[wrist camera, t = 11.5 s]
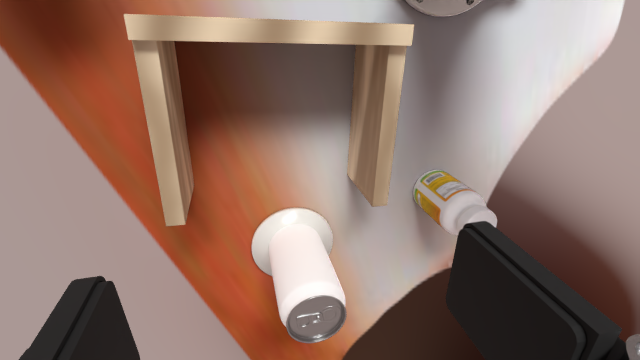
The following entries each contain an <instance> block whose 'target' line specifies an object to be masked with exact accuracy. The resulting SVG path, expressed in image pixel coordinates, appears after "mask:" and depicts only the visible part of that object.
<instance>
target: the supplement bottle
mask: <svg viewBox="0 0 640 360" xmlns="http://www.w3.org/2000/svg"><path fill="white" fill-rule="evenodd" d="M413 196H414V200H415V202H416V203H417V204H418V205H419V206H420V207H421V208H422V209H423V210H424V211H425V212H426V213H427V214H428V215H429V216H431V217H432V218H433V219H434V220H435V221H436V222H437V223H438V224H439V225H440V226H441V227H442V228H443V229H444V230H446V231H447V232H448V233H450V234H453V235H458V234H459V231H460V230H461V229H463V226H464V225H465V224H467V223H472V222H479V221H487V222H489V223H490V224H492V225H493V226H494V227H495V228H496V225H497V218H496V215H495V214H494V213H493V212H491V211H490V210H489V209H488V208H487V207H486V203H485V201H484V199H483V198H482V197H481V196H480V195H479V194H478V193H476V192H475V191H473V190H472V189H470V188H469V187H467V186H466V185H464V184H463V183H461V182H460V181H458V180H457V179H455V178H454V177H452V176H451V175H449V174H448V173H446V172H444V171H442V170H431V171H428V172H426V173H425V174H423V175H422V176H421V177H420V178H419V179H418V180H417V182H416V184H415V186H414V190H413Z"/></svg>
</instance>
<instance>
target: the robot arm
mask: <svg viewBox="0 0 640 360" xmlns="http://www.w3.org/2000/svg"><path fill="white" fill-rule="evenodd" d="M481 1H482V0H417V1H416V0H406V2H407V3H408V4H409V5H411V6H412V7H413V8H415V9H416V10H417V11H419V12H422V13H424V14H426V15H430V16H436V17H444V16H453V15H458V14H461V13H463V12H465V11H468V10H470V9H471V8H473V7H474V6H476V5H477V4H479V3H480V2H481ZM446 303H447V306H448V309H449V310H450V312H451V313H452V314H453V316H454V317H455V318H456V320H457V321H458V322H459V324H460V325H461V327H462V328H463V329H464V331H465V332H466V333H467V335H468V336H469V338H470V339H471V340H472V342H473V343H474V344H475V346H476V347H477V348H478V350H479V351H480V353H481V354H482V355H483V357H484V358H485V359H486V360H640V334H636V335H633V336H631V337H629V338H628V340H627V341H626V343H625V342H624V341H622V340H621V339H620V338H619V337H618V336H619V334H620V332H621V330H622V329H621V328H620V327H619V326H618V325H616V324H615V323H614V322H613V321H611V320H610V319H609V318H608V317H606V316H605V315H604V314H603V313H601V312H600V311H599V310H598V309H596V308H595V307H594V306H592V305H591V304H590V303H589V302H587V301H586V300H585V299H584V298H583V297H581V296H580V295H579V294H578V293H576V292H575V291H574V290H573V289H571V288H570V287H569V286H568V285H566V284H565V283H564V282H563V281H561V280H560V279H559V278H558V277H557V276H555V275H554V274H552V272H550V271H549V270H548V269H547V268H545V267H544V266H543V265H541V264H540V263H539V262H538V261H537V260H535V259H534V258H533V257H532V256H530V255H529V254H528V253H527V252H525V251H524V250H523V249H521V248H520V247H519V246H518V245H516V244H515V243H514V242H513V241H511V240H510V239H509V238H508V237H507V236H505V235H504V234H503V233H502V232H500V231H499V230H498V229H497V228H495V227H494V226H493V225H492V224H490V223H489V222H487V221H479V222H472V223H467V224H465V225H464V226H463V229H461V230H460V231H459V234H458V238H457V244H456V249H455V254H454V259H453V264H452V269H451V274H450V280H449V284H448V289H447V294H446ZM19 360H140V356H139V352H138V350H137V347H136V344H135V341H134V339H133V336H132V333H131V330H130V328H129V324H128V322H127V319H126V316H125V313H124V311H123V308H122V305H121V302H120V299H119V296H118V294H117V291H116V288H115V285H114V283H113V282H112V281H106V280H105V278H104V277H102V276H97V277H90V278H84V279H76V280H74V281H72V282H71V283H70V285H69V286H68V288H67V289H66V291H65V292H64V294H63V296H62V297H61V299H60V301H59V302H58V303H57V305H56V307H55V308H54V310H53V311H52V313H51V314H50V316H49V318H48V319H47V321H46V322H45V324H44V326H43V327H42V329H41V330H40V332H39V333H38V335H37V337H36V338H35V340H34V341H33V343H32V344H31V346H30V348H29V349H27V350H26V351H25V352H24V354H23V355H22V356H21V357H20V359H19Z"/></svg>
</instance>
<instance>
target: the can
mask: <svg viewBox="0 0 640 360" xmlns="http://www.w3.org/2000/svg"><path fill="white" fill-rule="evenodd" d="M269 257H270V263H271V269H272V275H273V281H274V287H275V293H276V299H277V304H278V310H279V315H280V318H281V321H282V323H283V324H284V325H285V327H286V328H287V331H288V333H289V335H290V336H291V337H292V338H293V339H295V340H297V341H299V342H303V343H316V342H320V341H323V340H326V339H328V338H330V337H332V336H333V335H334V334H336V333H337V332H338V331H339V330H340V329H341V327H342V326H343V324H344V322H345V320H346V308H345V295H344V292H343V289H342V287H341V285H340V282H339V280H338V277H337V275H336V273H335V270H334V268H333V266H332V263H331V261H330V259H329V257H328V254H327V252H326V250H325V247H324V245H323V243H322V241H321V238H320V236H319V234H318V233H317V231H316V230H315V229H313V228H312V227H310V226H308V225H304V224H292V225H288V226H286V227H284V228H282V229H280V230H279V231H278V232H276V233H275V235H274V236H273V237H272V239H271V241H270V243H269Z"/></svg>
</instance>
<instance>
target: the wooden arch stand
mask: <svg viewBox="0 0 640 360" xmlns="http://www.w3.org/2000/svg"><path fill="white" fill-rule="evenodd" d="M124 18H125V24H126V29H127V34H128V39H129V40H132V43H133V49H134V54H135V60H136V65H137V70H138V76H139V81H140V87H141V92H142V97H143V103H144V108H145V114H146V119H147V124H148V130H149V135H150V141H151V146H152V152H153V157H154V162H155V168H156V173H157V179H158V184H159V189H160V195H161V200H162V206H163V211H164V216H165V222H166V226H175V225H185V223H186V219H187V215H188V210H189V206H190V202H191V197H192V193H193V188H194V180H193V173H192V165H191V158H190V151H189V144H188V136H187V129H186V122H185V115H184V107H183V100H182V93H181V85H180V78H179V71H178V64H177V56H176V49H175V42H174V41H207V42H256V43H305V44H354V45H356V49H355V64H354V79H353V94H352V109H351V124H350V139H349V154H348V169H347V175H348V176H349V177H350V179H351V180H352V181H353V182H354V184H355V185H356V186H357V188H358V189H359V190H360V191H361V193H362V194H363V195H364V196H365V198H366V199H367V200H368V202H369V203H370V204H371V205H372V207H375V206H385V205H387V201H388V193H389V185H390V177H391V169H392V161H393V153H394V145H395V137H396V129H397V121H398V112H399V104H400V96H401V88H402V80H403V72H404V64H405V56H406V48H407V46H412V39H413V31H414V24H388V23H361V22H333V21H305V20H278V19H250V18H222V17H195V16H167V15H139V14H124Z"/></svg>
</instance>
